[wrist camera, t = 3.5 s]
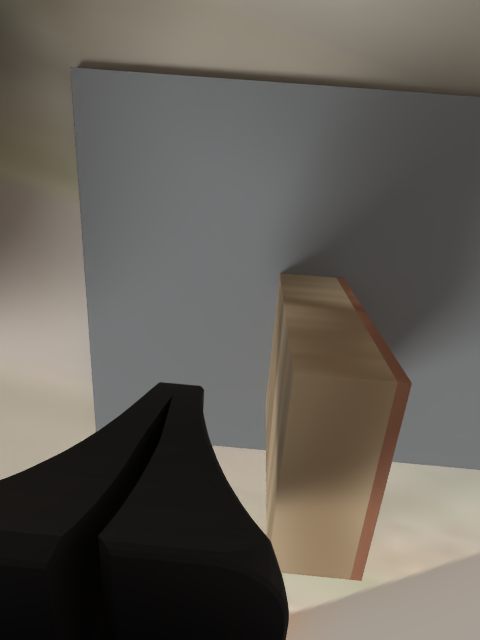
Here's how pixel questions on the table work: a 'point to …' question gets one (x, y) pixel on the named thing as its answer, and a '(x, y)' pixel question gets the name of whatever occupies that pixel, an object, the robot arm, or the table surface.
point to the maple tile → (328, 427)
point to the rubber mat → (278, 240)
